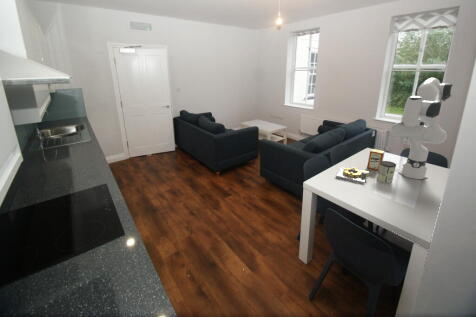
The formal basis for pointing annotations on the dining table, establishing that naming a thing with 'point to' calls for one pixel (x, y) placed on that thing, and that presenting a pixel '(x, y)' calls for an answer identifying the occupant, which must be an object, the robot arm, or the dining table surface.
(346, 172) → the ring nut
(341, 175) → the base plate
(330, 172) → the dining table surface
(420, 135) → the robot arm
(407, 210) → the dining table surface
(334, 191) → the dining table surface
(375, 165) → the baking soda box
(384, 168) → the coffee can
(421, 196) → the dining table surface
